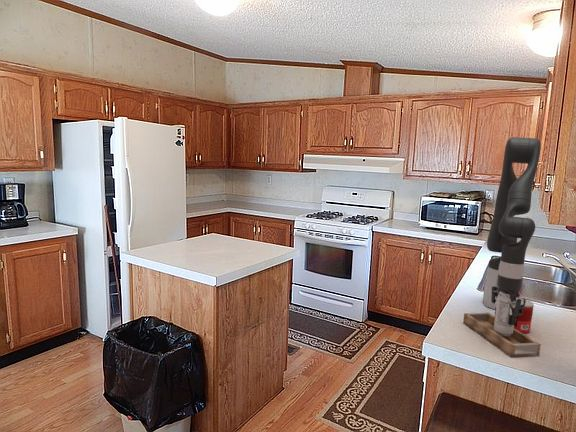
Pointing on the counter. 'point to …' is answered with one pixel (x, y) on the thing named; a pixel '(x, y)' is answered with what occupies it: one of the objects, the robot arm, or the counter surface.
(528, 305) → the canned food
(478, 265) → the counter surface
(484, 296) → the robot arm
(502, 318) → the energy drink can
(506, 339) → the wooden tray
